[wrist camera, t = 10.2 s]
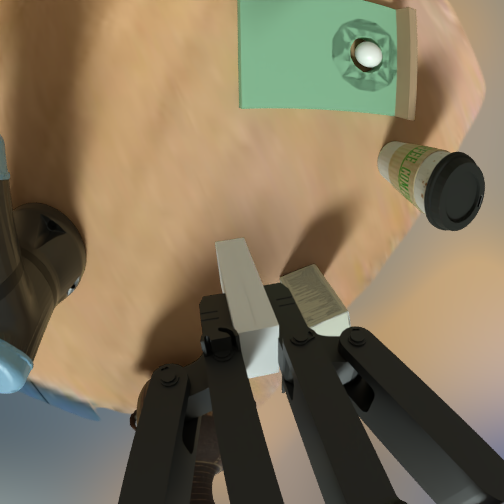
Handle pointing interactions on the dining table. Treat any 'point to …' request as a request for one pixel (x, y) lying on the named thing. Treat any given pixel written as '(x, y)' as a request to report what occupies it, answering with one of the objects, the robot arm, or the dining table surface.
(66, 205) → the dining table surface
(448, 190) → the coffee cup
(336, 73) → the putting platform
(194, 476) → the vase
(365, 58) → the ball
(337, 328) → the skincare box
